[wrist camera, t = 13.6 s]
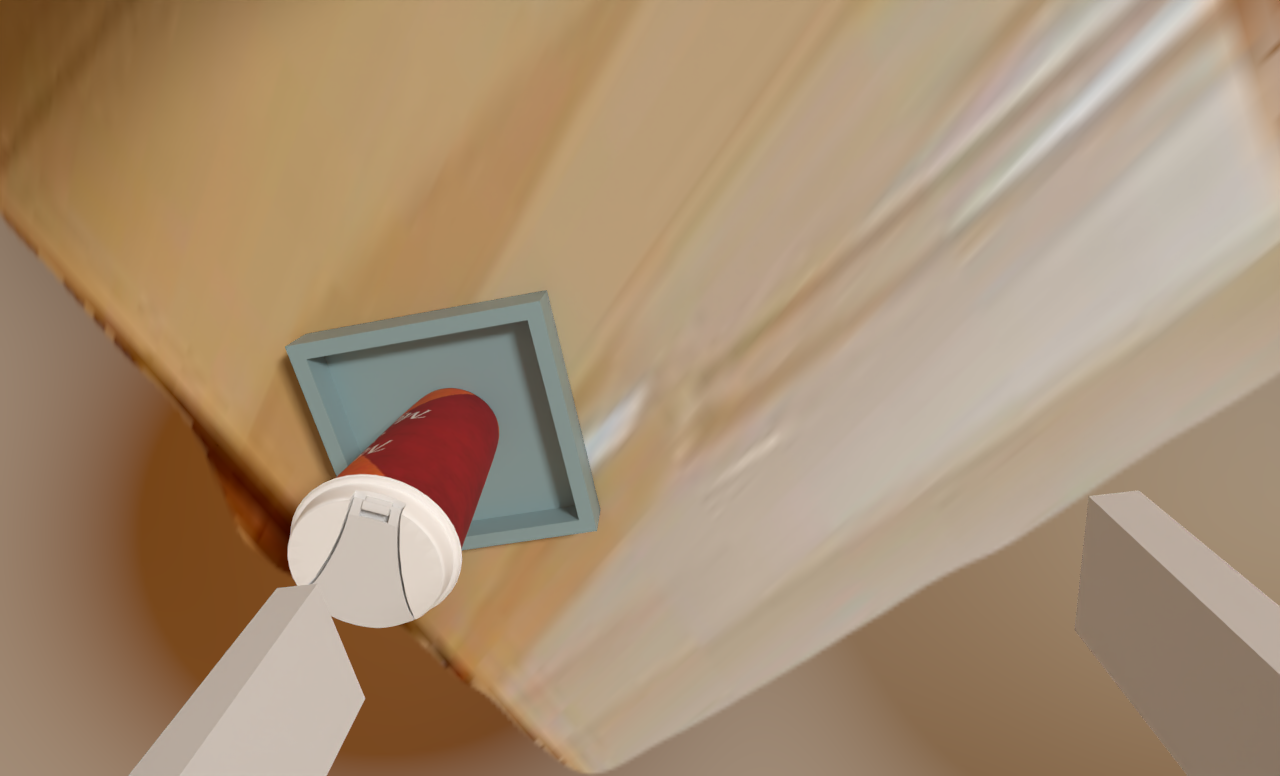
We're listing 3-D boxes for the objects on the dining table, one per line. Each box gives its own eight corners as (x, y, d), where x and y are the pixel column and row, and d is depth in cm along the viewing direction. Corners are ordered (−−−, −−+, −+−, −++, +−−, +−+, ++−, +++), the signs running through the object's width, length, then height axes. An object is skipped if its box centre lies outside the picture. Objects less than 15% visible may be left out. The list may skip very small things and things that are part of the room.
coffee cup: (403, 355, 44) (283, 468, 30) (529, 390, 44) (469, 517, 30) (384, 466, 47) (267, 616, 33) (502, 498, 47) (436, 658, 34)
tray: (305, 334, 44) (284, 346, 42) (546, 290, 42) (539, 300, 40) (385, 541, 50) (371, 563, 47) (600, 509, 48) (597, 530, 46)
